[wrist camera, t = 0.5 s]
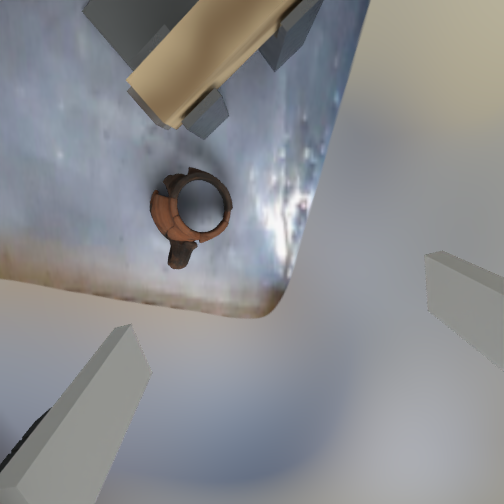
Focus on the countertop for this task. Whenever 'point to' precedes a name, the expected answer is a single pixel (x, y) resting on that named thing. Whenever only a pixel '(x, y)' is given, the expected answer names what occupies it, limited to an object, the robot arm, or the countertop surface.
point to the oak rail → (202, 55)
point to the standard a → (206, 111)
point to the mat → (134, 21)
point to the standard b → (290, 34)
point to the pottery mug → (171, 222)
